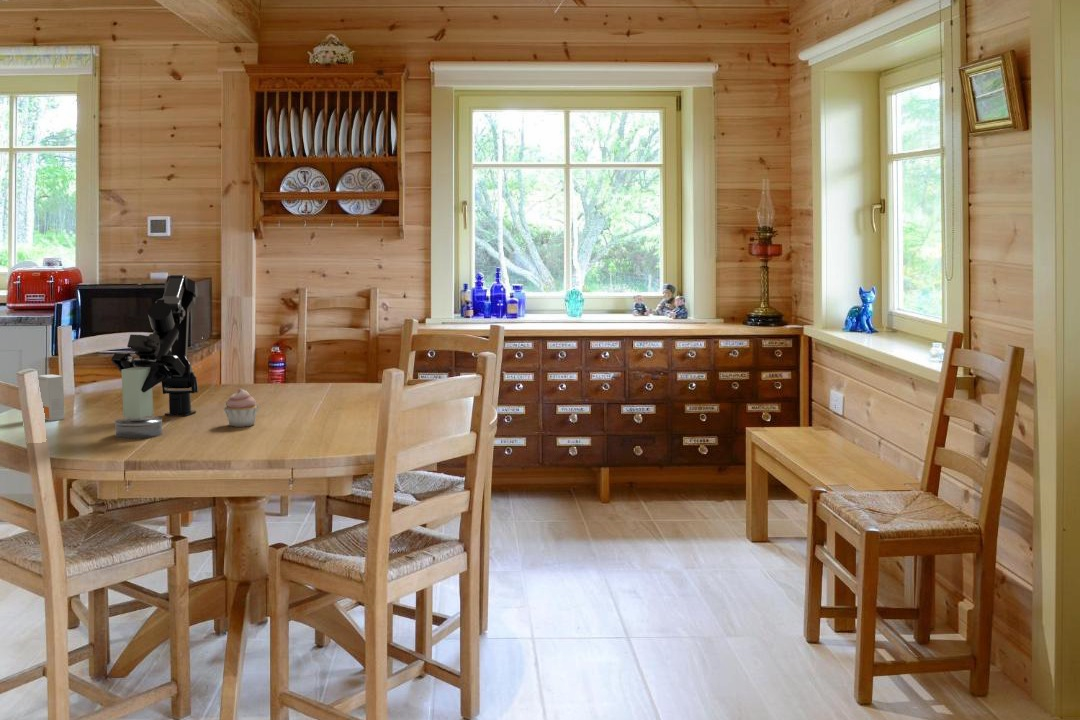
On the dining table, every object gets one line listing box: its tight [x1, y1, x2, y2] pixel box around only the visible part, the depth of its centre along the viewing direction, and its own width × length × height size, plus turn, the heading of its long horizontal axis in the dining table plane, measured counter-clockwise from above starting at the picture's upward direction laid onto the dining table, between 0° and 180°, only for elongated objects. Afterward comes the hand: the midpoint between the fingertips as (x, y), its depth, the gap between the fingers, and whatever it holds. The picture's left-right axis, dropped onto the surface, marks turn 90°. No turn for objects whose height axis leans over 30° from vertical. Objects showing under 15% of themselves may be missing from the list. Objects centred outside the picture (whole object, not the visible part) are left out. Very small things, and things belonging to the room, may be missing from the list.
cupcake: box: [222, 387, 260, 428], centre depth 269 cm, size 9×9×10 cm
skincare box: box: [37, 373, 66, 422], centre depth 275 cm, size 6×4×12 cm
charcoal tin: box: [114, 415, 163, 440], centre depth 255 cm, size 11×11×4 cm
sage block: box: [120, 367, 154, 418], centre depth 254 cm, size 5×5×12 cm
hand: (133, 390), depth 252 cm, fingers closed on sage block, 5 cm apart
